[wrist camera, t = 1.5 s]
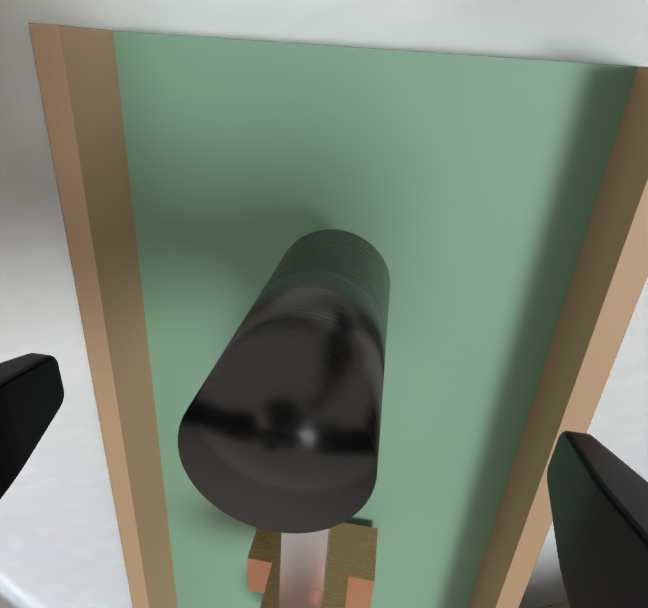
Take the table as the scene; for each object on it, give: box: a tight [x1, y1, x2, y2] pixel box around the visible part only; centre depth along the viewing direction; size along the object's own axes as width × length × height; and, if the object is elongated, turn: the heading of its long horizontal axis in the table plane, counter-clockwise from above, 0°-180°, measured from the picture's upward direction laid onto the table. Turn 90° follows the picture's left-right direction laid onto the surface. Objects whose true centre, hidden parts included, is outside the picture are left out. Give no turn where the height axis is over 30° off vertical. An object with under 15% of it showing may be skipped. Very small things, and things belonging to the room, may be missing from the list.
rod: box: [178, 229, 390, 608], centre depth 15 cm, size 5×16×9 cm, turn 176°
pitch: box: [28, 23, 648, 608], centre depth 20 cm, size 16×31×4 cm, turn 176°
